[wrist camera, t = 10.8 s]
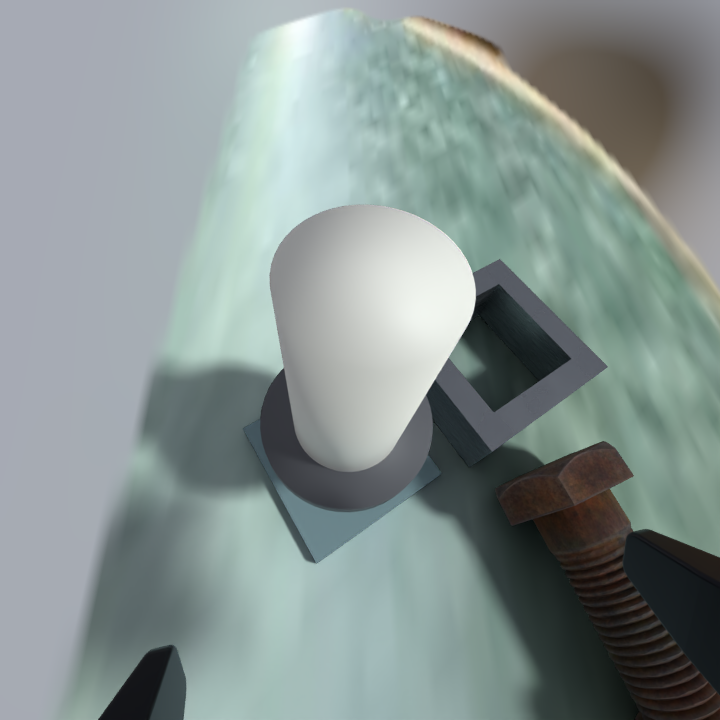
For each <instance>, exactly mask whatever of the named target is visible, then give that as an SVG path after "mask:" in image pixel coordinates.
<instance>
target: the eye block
mask: <svg viewBox="0 0 720 720" xmlns="http://www.w3.org/2000/svg"><path fill="white" fill-rule="evenodd" d="M472 274H473V277H474V282H475V288H476V301H475V306H474V311H473V314H472V317H471V319H473V318H475V317H477V316H478V315H480V316H481V317H482V318H483V320H484V321H485V322H486V323H487V324H488V325H489V326H490V327H491V328H492V329H493V331H494V332H495V333H496V334H497V335H498V336H499V337H500V338H501V339H502V340H503V342H504V343H505V344H506V345H507V346H508V347H509V348H510V349H511V350H512V351H513V353H514V354H515V355H516V356H517V357H518V358H519V359H520V360H521V361H522V362H523V364H524V365H525V366H526V367H527V368H528V369H529V370H530V371H531V372H532V373H533V375H534V376H535V377H536V378H537V379H538V380H539V382H537V383H536V384H535V385H533V386H532V387H530V388H529V389H527V390H526V391H524V392H523V393H521V394H520V395H519V396H517V397H516V398H514V399H513V400H511V401H510V402H508V403H507V404H506V405H504V406H503V407H501V408H500V409H498V410H497V411H495V412H493V411H492V410H491V409H490V407H489V406H488V405H487V404H486V403H485V401H484V400H483V399H482V398H481V397H480V395H479V394H478V393H477V392H476V390H475V389H474V388H473V387H472V386H471V384H470V383H469V382H468V381H467V380H466V378H465V377H464V376H463V375H462V374H461V372H460V371H459V370H458V369H457V368H456V366H455V365H454V364H453V363H452V361H451V360H450V359H449V358H448V359H447V361H446V362H445V364H444V366H443V367H442V369H441V370H440V372H439V374H438V375H437V377H436V379H435V380H434V382H433V384H432V385H431V387H430V389H429V390H428V392H427V394H426V396H427V399H428V402H429V404H430V408H431V413H432V419H433V420H434V422H435V423H436V424H437V426H438V427H439V428H440V430H441V431H442V432H443V434H444V435H445V436H446V438H447V439H448V440H449V442H450V443H451V444H452V446H453V447H454V448H455V450H456V451H457V452H458V453H459V455H460V456H461V457H462V459H463V460H464V461H465V463H466V464H467V465H468V467H471V466H472V465H473V464H475V463H476V462H478V461H479V460H481V459H482V458H484V457H485V456H487V455H488V454H490V453H491V452H493V451H494V450H495V449H497V448H498V447H499V446H501V445H502V444H503V443H505V442H506V441H508V440H509V439H510V438H512V437H513V436H514V435H516V434H517V433H518V432H520V431H521V430H523V429H524V428H525V427H527V426H528V425H529V424H531V423H532V422H533V421H535V420H536V419H538V418H539V417H540V416H542V415H543V414H544V413H546V412H547V411H548V410H550V409H551V408H553V407H554V406H555V405H557V404H558V403H559V402H561V401H562V400H563V399H565V398H566V397H568V396H569V395H570V394H572V393H573V392H574V391H576V390H577V389H579V388H580V387H581V386H583V385H584V384H585V383H587V382H588V381H589V380H591V379H592V378H594V377H595V376H596V375H598V374H599V373H600V372H602V371H603V370H604V369H606V368H607V367H608V366H607V365H606V364H605V363H604V362H603V361H602V360H601V359H600V358H599V357H598V356H597V355H596V354H595V353H594V352H593V351H592V350H591V349H590V348H589V347H588V346H587V345H586V344H585V343H584V342H583V341H582V340H581V339H579V338H578V337H577V336H576V335H575V334H574V333H573V332H572V331H571V330H570V329H569V328H568V327H567V326H566V325H565V324H564V323H563V322H562V321H561V320H560V319H559V318H558V317H557V316H556V315H555V314H554V313H553V312H552V311H551V310H550V309H549V308H548V307H547V306H546V305H545V304H544V303H543V302H542V301H541V300H540V299H539V298H538V297H537V296H536V295H535V294H534V293H533V292H532V291H531V290H530V289H529V288H528V287H527V286H526V285H525V284H524V283H523V282H522V281H521V280H520V279H519V278H518V277H517V276H516V275H515V274H514V273H513V272H512V271H511V270H510V269H509V268H508V267H507V266H506V265H505V264H504V263H503V262H502V261H501V260H500V259H499V260H497V261H495V262H493V263H491V264H490V265H488V266H486V267H484V268H482V269H480V270H478V271H476V272H474V273H472Z"/></svg>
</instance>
